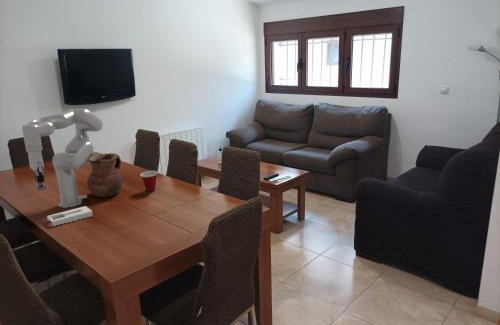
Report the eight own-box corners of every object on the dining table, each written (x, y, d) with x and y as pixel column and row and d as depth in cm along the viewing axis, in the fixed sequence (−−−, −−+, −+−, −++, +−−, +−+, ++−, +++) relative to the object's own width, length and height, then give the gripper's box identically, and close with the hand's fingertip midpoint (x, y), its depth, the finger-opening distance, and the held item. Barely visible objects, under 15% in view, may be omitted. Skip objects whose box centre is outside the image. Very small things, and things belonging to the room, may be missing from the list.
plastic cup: (138, 191, 240) (136, 174, 237) (149, 187, 249) (148, 169, 246) (151, 194, 235) (149, 176, 232) (162, 189, 244) (160, 171, 241)
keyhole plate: (86, 211, 210) (85, 206, 209) (92, 215, 203) (92, 210, 202) (47, 221, 197) (46, 216, 197) (53, 226, 190) (52, 221, 189)
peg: (44, 186, 202) (41, 165, 199) (47, 188, 199) (43, 167, 196) (35, 188, 199) (31, 167, 196) (38, 190, 196) (34, 168, 193)
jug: (111, 200, 226) (106, 161, 219) (81, 198, 230) (75, 160, 223) (130, 188, 247) (126, 152, 240) (102, 187, 251) (97, 151, 244)
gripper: (22, 146, 197) (28, 179, 201) (29, 151, 185) (36, 186, 190) (38, 144, 201) (43, 176, 206) (46, 149, 190) (52, 183, 194)
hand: (40, 181), depth 198 cm, fingers closed on peg, 3 cm apart
